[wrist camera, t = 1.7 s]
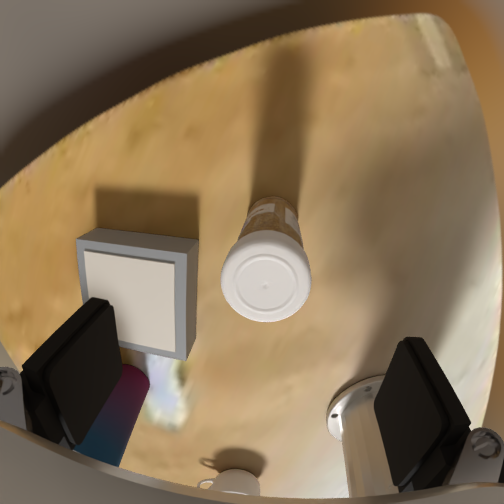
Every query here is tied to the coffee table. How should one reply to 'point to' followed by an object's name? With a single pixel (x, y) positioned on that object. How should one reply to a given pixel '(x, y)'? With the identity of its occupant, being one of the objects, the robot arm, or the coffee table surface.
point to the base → (143, 287)
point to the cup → (116, 418)
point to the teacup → (234, 482)
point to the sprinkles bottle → (267, 264)
